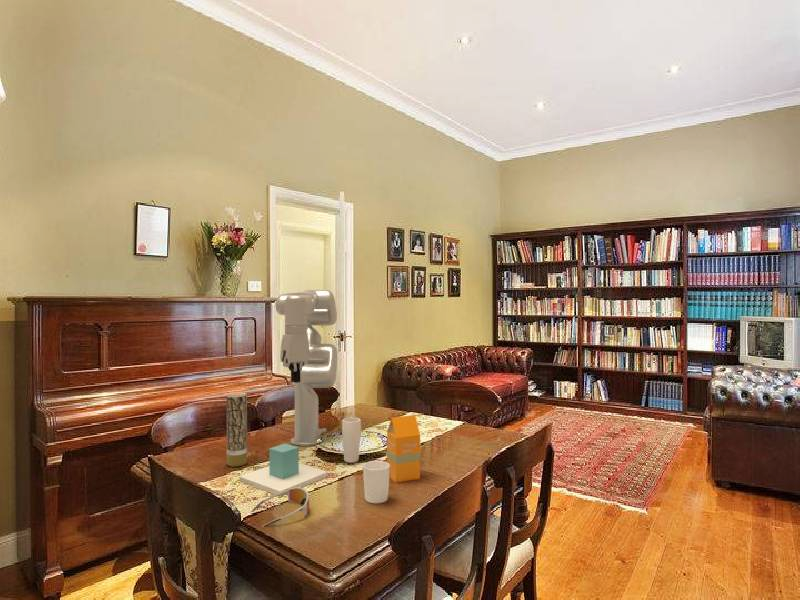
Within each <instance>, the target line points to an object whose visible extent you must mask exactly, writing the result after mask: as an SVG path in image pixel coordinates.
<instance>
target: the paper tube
mask: <svg viewBox="0 0 800 600" xmlns="http://www.w3.org/2000/svg"><path fill="white" fill-rule="evenodd" d="M247 408H248V394H247V392H245V391H233V392H228V393H226V465H227V466H228V467H230V468H231V467H233V468H237V467H242V466H245V465H246V464H247V462H248V459H247V458H248V409H247Z"/></svg>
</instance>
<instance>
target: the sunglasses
mask: <svg viewBox="0 0 800 600" xmlns="http://www.w3.org/2000/svg"><path fill="white" fill-rule="evenodd" d="M284 494H285V495H286V494H287V501H288V502H289V503H296V504H297V503H298V504H299V505H301V507H299V508H298V509H296V510H294V511H293V512H291V513H289V514H285V516H281V517H278V518H276V519H274V520H272V521H270V522H269V521H268V522H267V523H265V524H263V525H262V526H261V527H262V528H263V527H268V526H271V525H272V524H275V523H277V522H279V521H283V520H286V519H288V518H289V517H291V516H293V515H296V514H298V513H301V512H303V510H304V514H303V516H304V517H307V516H308V514H309V510H310V509H309V508H310V497H309V496H310V495H309V491H308V490H307V489H305V488H304V487H296V488H290V489H288V490H286V491H283V492H280V493H278V494H273V495H271V496H269V497H267V498H265V499H263V500H261V501H260V502H258V503H257V504H256V505H255V506H254V508H252V510H250V513H253V512H254V511H255V510H257V509H258V508H259V507H260V506H261V505H262V504H264V503H266V502H269V501H270V500H271V499H273V498H276V497H282V496H284Z"/></svg>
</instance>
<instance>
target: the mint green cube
mask: <svg viewBox="0 0 800 600" xmlns="http://www.w3.org/2000/svg"><path fill="white" fill-rule="evenodd" d="M299 449H300V448H299V446H297V445H293V444H288V443H283V444H280V445H278V446H273V447H270V448H269V450H268V452H269V456H268V457H269V458H268V459H269V464H268V466H269V475H271V476H274V477H277V478H280V479H285V478H288V477H291V476H293V475H296V474H298V473H299V462H300V455H299V453H300V452H299Z"/></svg>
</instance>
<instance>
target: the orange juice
mask: <svg viewBox="0 0 800 600" xmlns="http://www.w3.org/2000/svg"><path fill="white" fill-rule="evenodd" d="M386 462H387V463H389V464H390V473H389V479H391V480H392V481H393V482H394V483H401V482H407V481H408V482H409V481H414V480H420V479H421V433H420V429H419V425H418V422H417V417H416V415H415V414H414V415H406V416H396V417H395V416H394V417H391V419H390V422H389V426H388V428H387V431H386Z"/></svg>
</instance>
